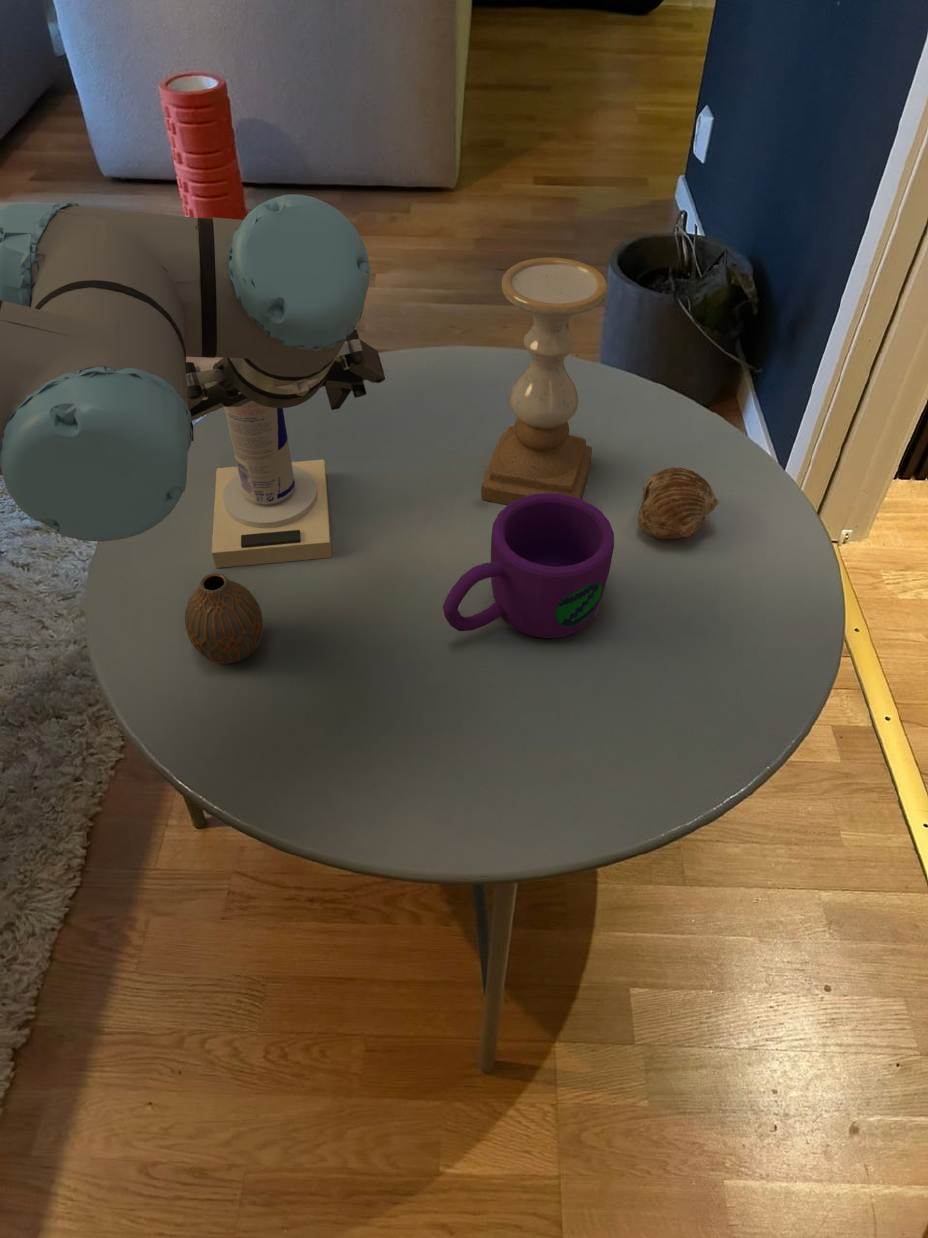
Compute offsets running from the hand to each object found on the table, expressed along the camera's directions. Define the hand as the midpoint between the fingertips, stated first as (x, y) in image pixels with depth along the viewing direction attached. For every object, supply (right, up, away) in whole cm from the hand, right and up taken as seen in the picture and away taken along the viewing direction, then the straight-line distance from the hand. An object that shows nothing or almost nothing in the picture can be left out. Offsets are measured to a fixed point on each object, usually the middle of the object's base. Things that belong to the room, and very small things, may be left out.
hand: (259, 410), depth 83 cm
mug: (+24, -19, +7) cm, 31 cm away
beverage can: (-2, -5, +15) cm, 16 cm away
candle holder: (+27, -3, +22) cm, 35 cm away
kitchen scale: (-2, -8, +16) cm, 18 cm away
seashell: (+41, -9, +16) cm, 45 cm away
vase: (-4, -22, +4) cm, 22 cm away
